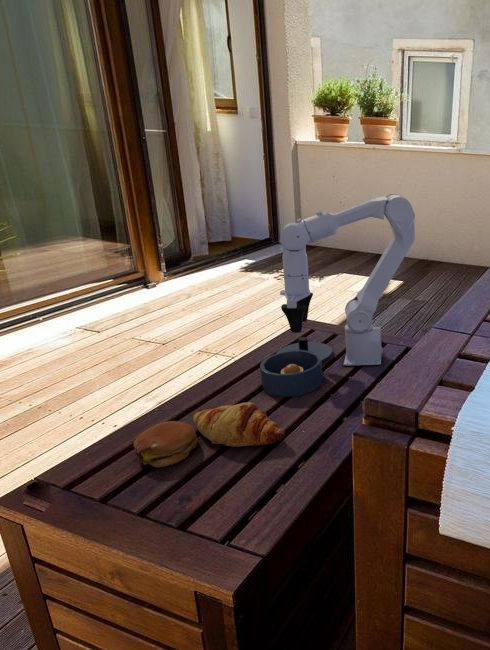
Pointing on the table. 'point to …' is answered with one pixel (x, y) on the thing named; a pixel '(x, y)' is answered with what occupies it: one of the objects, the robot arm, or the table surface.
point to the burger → (165, 443)
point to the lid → (309, 348)
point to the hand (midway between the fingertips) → (299, 326)
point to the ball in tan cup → (291, 369)
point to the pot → (292, 382)
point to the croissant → (237, 425)
